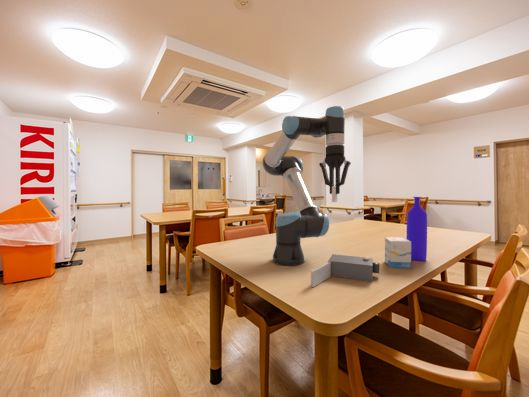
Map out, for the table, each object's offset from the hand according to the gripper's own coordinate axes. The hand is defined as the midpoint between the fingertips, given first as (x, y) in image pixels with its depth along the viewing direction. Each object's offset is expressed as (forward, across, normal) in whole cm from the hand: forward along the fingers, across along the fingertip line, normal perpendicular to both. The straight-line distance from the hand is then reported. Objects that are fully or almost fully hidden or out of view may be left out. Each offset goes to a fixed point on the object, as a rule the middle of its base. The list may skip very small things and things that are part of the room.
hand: (334, 201), depth 100 cm
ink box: (+29, +23, +19) cm, 42 cm away
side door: (+29, -1, -16) cm, 33 cm away
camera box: (+29, +9, -3) cm, 30 cm away
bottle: (+29, +30, +34) cm, 54 cm away
